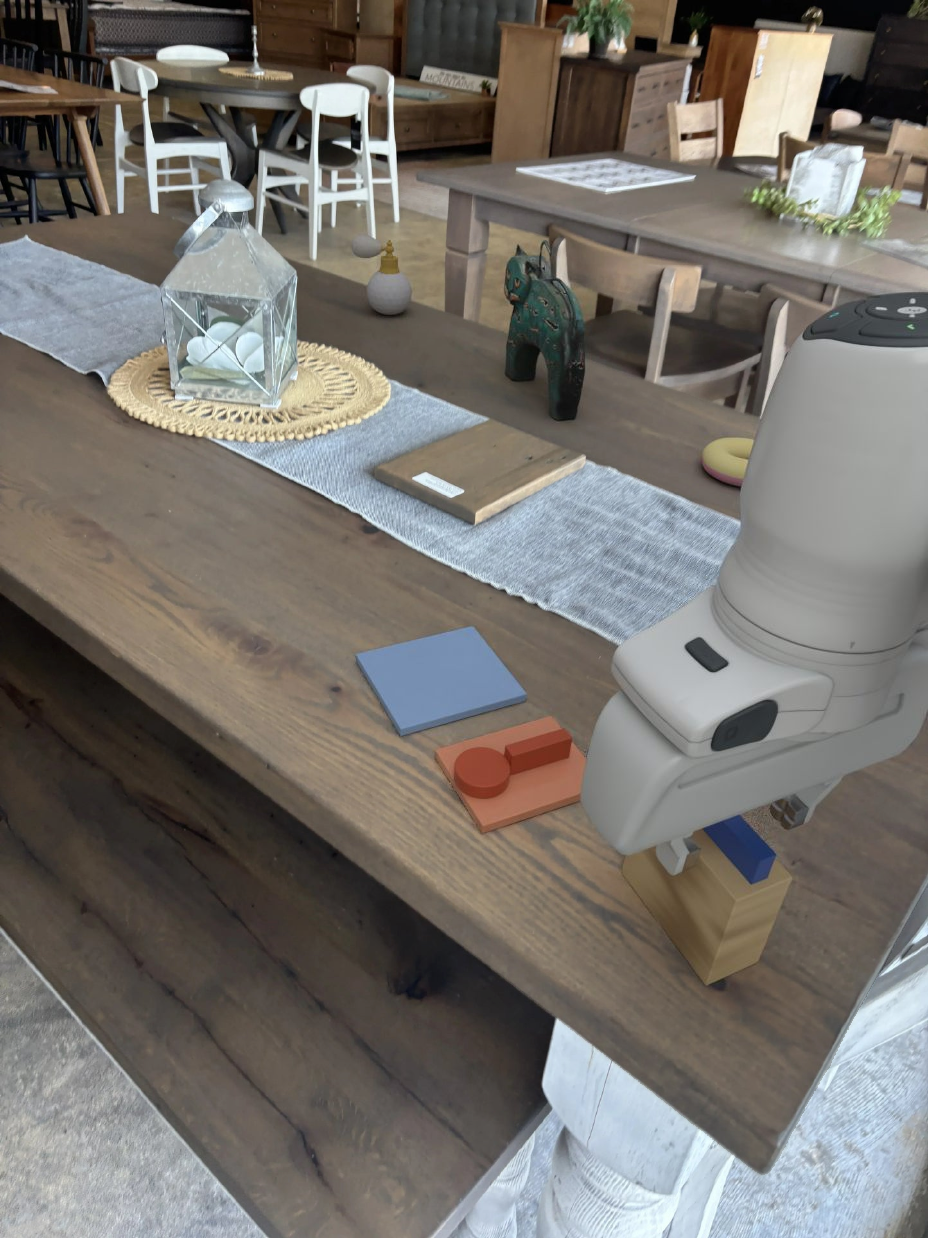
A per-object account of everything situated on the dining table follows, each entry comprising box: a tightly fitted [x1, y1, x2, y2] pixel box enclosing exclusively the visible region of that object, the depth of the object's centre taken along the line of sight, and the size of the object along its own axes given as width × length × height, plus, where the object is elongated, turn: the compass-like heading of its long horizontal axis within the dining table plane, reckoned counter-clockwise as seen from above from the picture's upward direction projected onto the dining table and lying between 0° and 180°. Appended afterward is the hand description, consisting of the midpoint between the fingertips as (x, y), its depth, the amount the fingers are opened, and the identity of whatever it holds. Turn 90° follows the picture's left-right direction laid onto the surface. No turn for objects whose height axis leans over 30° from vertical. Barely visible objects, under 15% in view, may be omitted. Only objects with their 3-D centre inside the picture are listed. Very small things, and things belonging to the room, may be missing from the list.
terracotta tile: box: [434, 715, 587, 834], centre depth 66 cm, size 8×10×1 cm
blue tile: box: [355, 625, 528, 737], centre depth 75 cm, size 10×11×1 cm
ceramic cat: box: [503, 239, 586, 422], centre depth 121 cm, size 20×6×20 cm, turn 20°
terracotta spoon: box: [454, 727, 573, 799], centre depth 65 cm, size 9×4×2 cm, turn 115°
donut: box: [701, 436, 754, 488], centre depth 109 cm, size 10×5×9 cm
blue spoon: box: [702, 814, 777, 885], centre depth 52 cm, size 9×4×2 cm, turn 26°
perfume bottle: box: [350, 234, 413, 316], centre depth 149 cm, size 8×10×12 cm
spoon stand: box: [621, 829, 793, 986], centre depth 55 cm, size 9×4×8 cm, turn 26°
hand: (732, 840), depth 51 cm, fingers open, 7 cm apart
